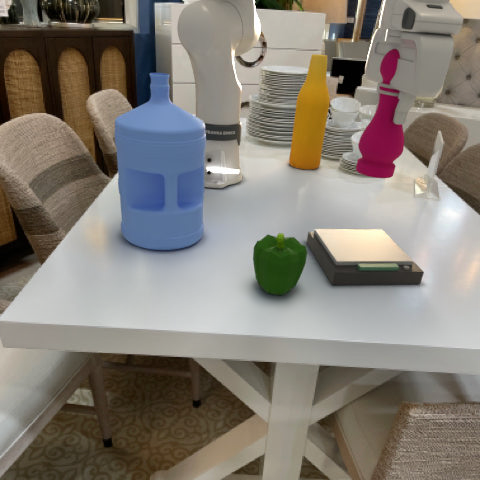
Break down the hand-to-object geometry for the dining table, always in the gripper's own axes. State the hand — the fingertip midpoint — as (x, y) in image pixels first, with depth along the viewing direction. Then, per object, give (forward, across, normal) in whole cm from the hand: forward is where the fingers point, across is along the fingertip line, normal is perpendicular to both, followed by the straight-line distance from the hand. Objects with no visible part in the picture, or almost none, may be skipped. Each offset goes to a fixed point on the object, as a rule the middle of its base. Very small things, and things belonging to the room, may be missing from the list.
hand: (389, 119), depth 75 cm
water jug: (+25, -11, -36) cm, 45 cm away
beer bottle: (+25, -63, +6) cm, 68 cm away
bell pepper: (+25, +10, -18) cm, 32 cm away
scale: (+25, +1, 0) cm, 25 cm away
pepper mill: (+9, 0, 0) cm, 9 cm away
